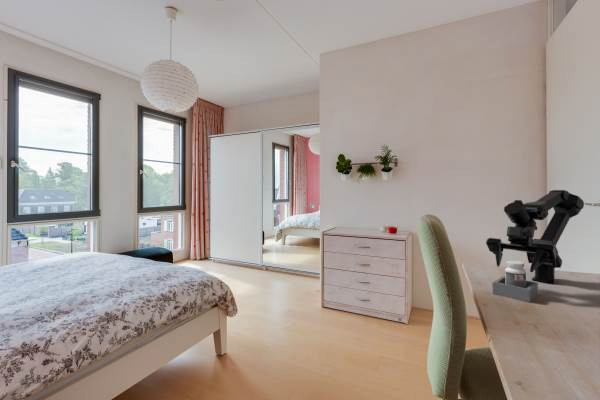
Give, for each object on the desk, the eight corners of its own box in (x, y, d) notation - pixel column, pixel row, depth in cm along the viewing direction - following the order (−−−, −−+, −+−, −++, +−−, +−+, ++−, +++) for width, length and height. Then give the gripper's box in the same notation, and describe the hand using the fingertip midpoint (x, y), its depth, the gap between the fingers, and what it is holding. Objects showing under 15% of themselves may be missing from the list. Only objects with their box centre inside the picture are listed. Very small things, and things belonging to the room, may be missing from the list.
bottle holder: (502, 286, 102) (502, 276, 102) (537, 294, 94) (537, 282, 94) (492, 293, 96) (492, 282, 96) (529, 302, 88) (529, 289, 88)
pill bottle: (530, 294, 92) (530, 264, 91) (510, 293, 93) (510, 264, 93) (520, 288, 97) (519, 260, 97) (501, 287, 99) (501, 259, 98)
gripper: (487, 216, 104) (476, 250, 98) (554, 219, 89) (545, 259, 83) (495, 234, 109) (484, 268, 103) (559, 240, 94) (552, 280, 88)
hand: (513, 268), depth 94 cm, fingers open, 9 cm apart
